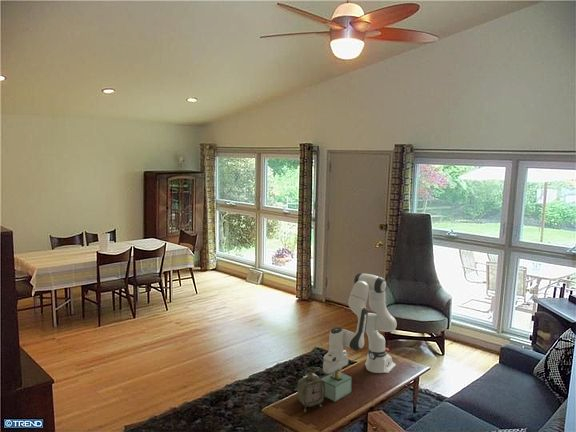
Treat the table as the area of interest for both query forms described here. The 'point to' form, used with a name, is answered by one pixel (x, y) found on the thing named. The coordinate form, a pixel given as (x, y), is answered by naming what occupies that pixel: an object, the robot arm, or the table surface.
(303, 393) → the tabletop clock
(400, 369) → the table surface
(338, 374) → the wooden yellow block
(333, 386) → the coin box
